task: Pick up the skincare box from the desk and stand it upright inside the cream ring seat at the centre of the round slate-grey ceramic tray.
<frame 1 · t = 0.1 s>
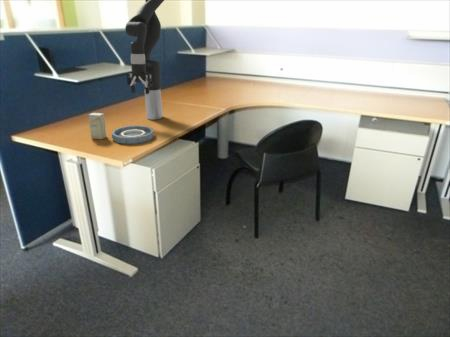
hand: (140, 93, 189), 17 cm above the table, tool pointing down, fingers open, 8 cm apart
skincare box: (99, 137, 174), on the table
ring tray: (133, 137, 174), on the table
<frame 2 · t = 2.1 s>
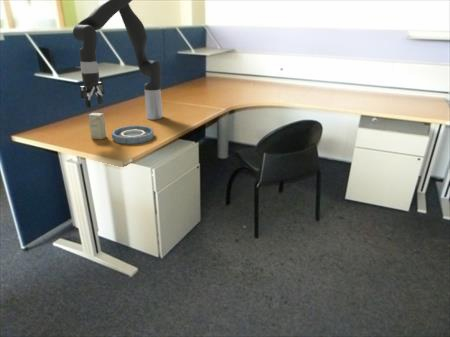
hand: (94, 105, 167), 16 cm above the table, tool pointing down, fingers open, 8 cm apart
nothing on the table moved.
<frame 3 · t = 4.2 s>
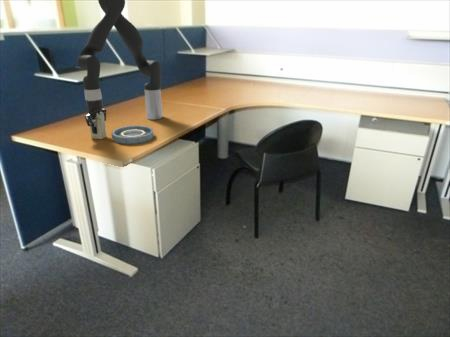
hand: (98, 132, 172), 3 cm above the table, tool pointing down, fingers closed on skincare box, 4 cm apart
skincare box: (99, 137, 174), on the table, touching gripper
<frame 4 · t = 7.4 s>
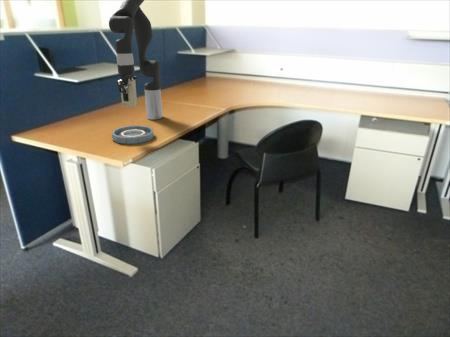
hand: (129, 99, 166), 19 cm above the table, tool pointing down, fingers closed on skincare box, 4 cm apart
skincare box: (130, 106, 168), point 16 cm above the table, touching gripper
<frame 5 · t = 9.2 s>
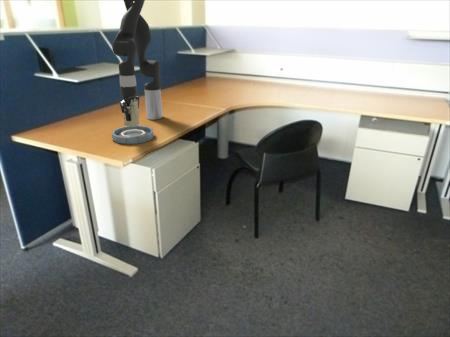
hand: (131, 119, 170), 9 cm above the table, tool pointing down, fingers closed on skincare box, 4 cm apart
skincare box: (132, 125, 172), point 6 cm above the table, touching gripper
when the fingers open (5 cm above the table, at t = 10.8 s): skincare box drops 1 cm, resting on ring tray.
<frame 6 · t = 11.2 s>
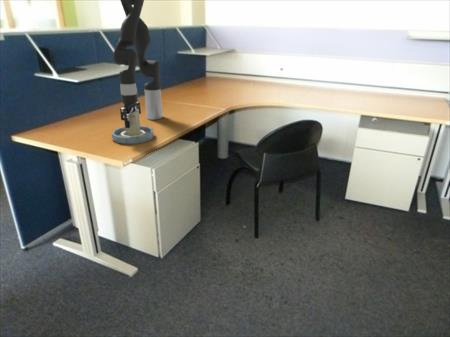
hand: (132, 125, 172), 6 cm above the table, tool pointing down, fingers open, 8 cm apart
skincare box: (133, 135, 174), point 1 cm above the table, touching ring tray
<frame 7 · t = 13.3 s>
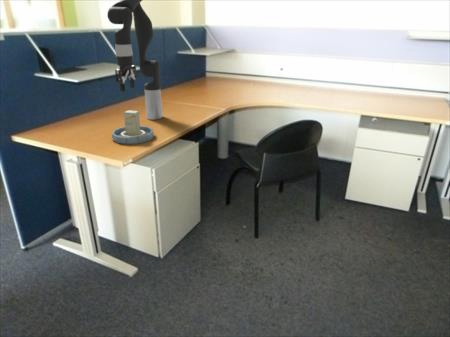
hand: (128, 89, 167), 24 cm above the table, tool pointing down, fingers open, 8 cm apart
nothing on the table moved.
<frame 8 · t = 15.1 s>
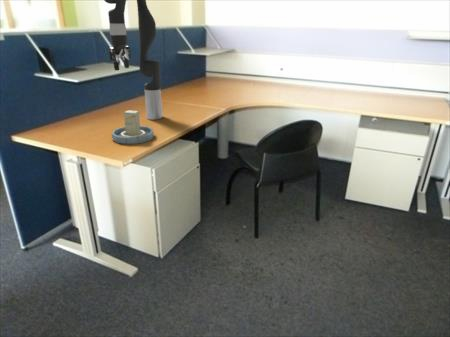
hand: (122, 69, 170), 32 cm above the table, tool pointing down, fingers open, 8 cm apart
nothing on the table moved.
at the end: skincare box 0.3 cm off-centre on the ring tray, point 1.0 cm above the ring tray's base; skincare box tilted 0°; the gripper is holding nothing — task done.
